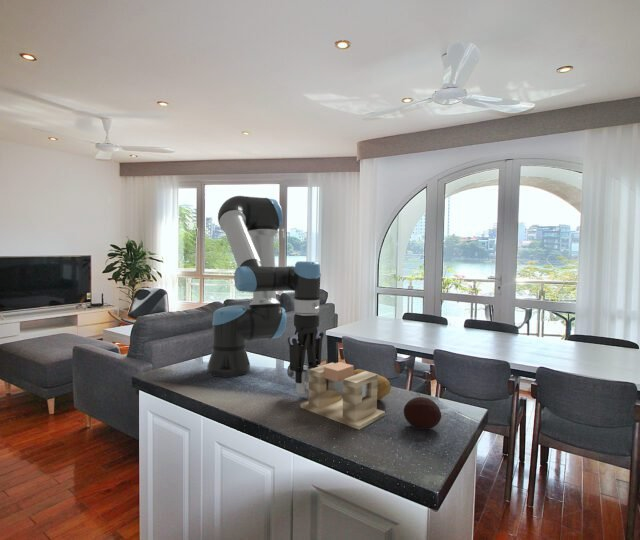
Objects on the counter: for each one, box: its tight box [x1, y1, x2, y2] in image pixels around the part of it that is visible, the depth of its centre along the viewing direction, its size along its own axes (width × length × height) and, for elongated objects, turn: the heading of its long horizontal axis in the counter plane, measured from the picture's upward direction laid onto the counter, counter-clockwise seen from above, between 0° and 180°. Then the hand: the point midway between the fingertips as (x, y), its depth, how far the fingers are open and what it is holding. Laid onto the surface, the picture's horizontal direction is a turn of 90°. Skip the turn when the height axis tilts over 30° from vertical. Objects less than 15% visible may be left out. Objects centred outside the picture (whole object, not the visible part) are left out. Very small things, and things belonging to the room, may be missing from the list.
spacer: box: [324, 361, 355, 382], centre depth 108 cm, size 5×7×3 cm
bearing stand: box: [300, 362, 386, 430], centre depth 107 cm, size 20×12×11 cm, turn 49°
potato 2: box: [403, 396, 442, 431], centre depth 98 cm, size 8×9×8 cm
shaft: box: [287, 364, 368, 398], centre depth 111 cm, size 26×5×5 cm, turn 49°
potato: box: [354, 368, 392, 401], centre depth 117 cm, size 10×14×8 cm
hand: (305, 391), depth 116 cm, fingers closed on shaft, 3 cm apart
